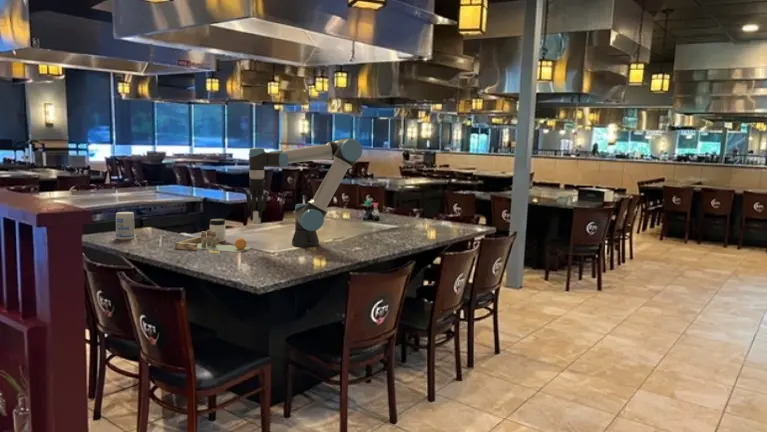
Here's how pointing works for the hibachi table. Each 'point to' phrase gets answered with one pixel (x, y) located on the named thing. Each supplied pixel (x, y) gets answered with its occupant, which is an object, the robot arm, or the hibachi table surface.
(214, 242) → the pin front
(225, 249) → the pale green board
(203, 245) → the pin rear left
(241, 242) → the ball
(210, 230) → the pin rear right
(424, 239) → the hibachi table surface
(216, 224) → the jar
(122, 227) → the supplement tub
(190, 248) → the backstop
